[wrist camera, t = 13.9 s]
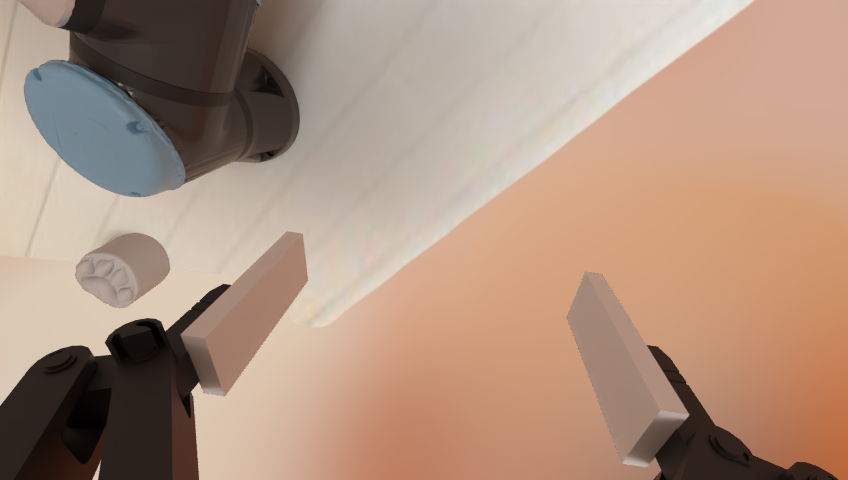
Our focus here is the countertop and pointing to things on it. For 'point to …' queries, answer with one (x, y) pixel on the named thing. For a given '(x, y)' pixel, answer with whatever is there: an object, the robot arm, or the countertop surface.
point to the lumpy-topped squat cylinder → (123, 269)
